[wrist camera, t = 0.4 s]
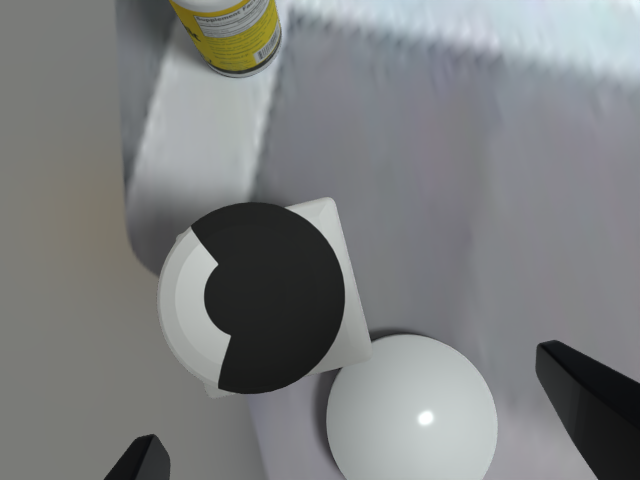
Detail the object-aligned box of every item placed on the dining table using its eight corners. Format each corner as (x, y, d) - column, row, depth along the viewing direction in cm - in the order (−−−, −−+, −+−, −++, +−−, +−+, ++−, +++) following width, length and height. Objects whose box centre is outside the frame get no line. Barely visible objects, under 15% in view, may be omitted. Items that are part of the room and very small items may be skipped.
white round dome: (523, 430, 23) (533, 437, 22) (397, 538, 22) (401, 552, 21) (416, 301, 24) (420, 301, 23) (294, 401, 23) (292, 407, 22)
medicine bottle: (334, 221, 25) (331, 155, 13) (364, 340, 24) (391, 387, 12) (218, 250, 25) (109, 211, 13) (243, 370, 24) (151, 446, 12)
